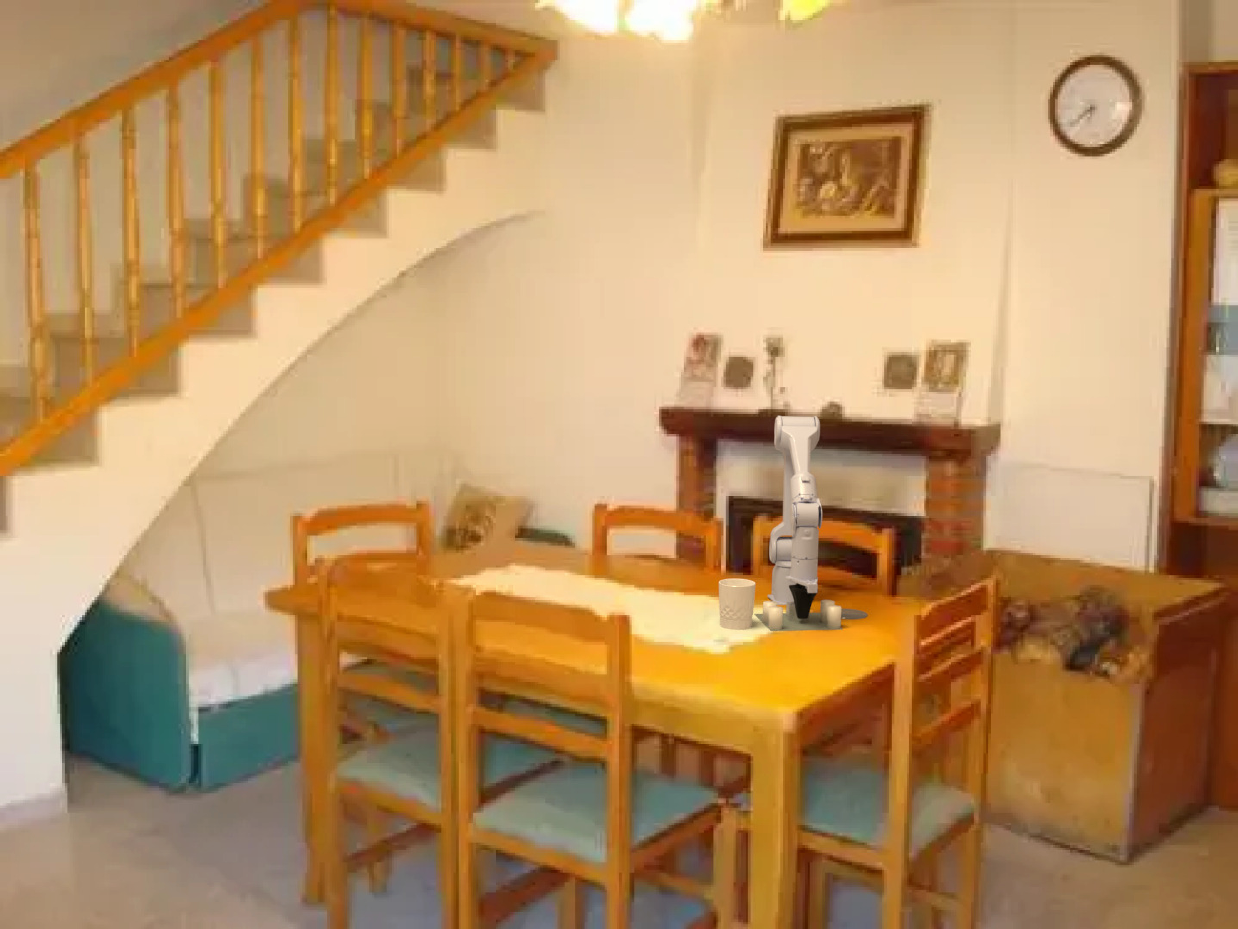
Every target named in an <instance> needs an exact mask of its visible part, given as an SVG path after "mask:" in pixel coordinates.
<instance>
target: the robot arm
mask: <svg viewBox="0 0 1238 929" xmlns="http://www.w3.org/2000/svg"><path fill="white" fill-rule="evenodd" d="M820 435H821V422H820V419H819V417H818V416H816V415H814V416H793V415H792V416H791V415H790V416H788V415H787V416H784V415H783V416H782V415H777V416H776V417H775V420H774V440H773V442H774V449H775V450H776V451H778V452H781V453H782V454H781V455H782V458H783V490H782V492H783V493H782V494H783V495H782V498H783V499H782V521H781V522H780V523H779V524H778V525H776V526H775V527H773V528H772V529H771V532H770V538H769V548H768V549H769V550H768V551H769V552H768V553H769V561H770V562H771V564H774V566H773V568H772V573H771V575H772V576H771V594H767V598H768V599H770V601H775V602H777V606H786V602H792V601H794V604H795V609H796V615H797V618H798V619H808V616H809V613H811V609H812V608H811V607H812V605H813V601H814V599H815V598H816V596H817V594H818V592H819V588H818V587H819V586H818V581H819V577H818V563H819V562H818V561H819V560H818V558H819V535H820V534H819V532H820V530H819V529H821V528H822V522H823V508H822V504H821V501H820V500H821V499H820V498H819V497H818V495H819V494H818V487H817V479H816V478H817V477H815V476H814V475H813V474H811V452H812V451H814V450H815V448H817V445H818V442H819V441H820V437H821V436H820Z"/></svg>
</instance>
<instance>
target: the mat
mask: <svg viewBox="0 0 1238 929" xmlns="http://www.w3.org/2000/svg"><path fill="white" fill-rule="evenodd" d="M753 614H754V616H755V617H756V618H757V619H759V621H760V622H761V623H762V624H763V625H764V626H765V627H766V628H767V629H768V630H769V631H770V632H785V631H786V632H790V631H791V632H792V631H793V632H794V631H830V630H831V631H833V630H834V631H836V630H837V631H838V630H840V631H841V630H844V629H843V627H841V628H839V629H831V628H827V623H823V622H820V612H809V620H808V621H803V622H796V621H789V620H788V619H787V618H786V612H783V624H782V629H781V630H771V629H769V628H768V624H764V623H763V613H753Z"/></svg>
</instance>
